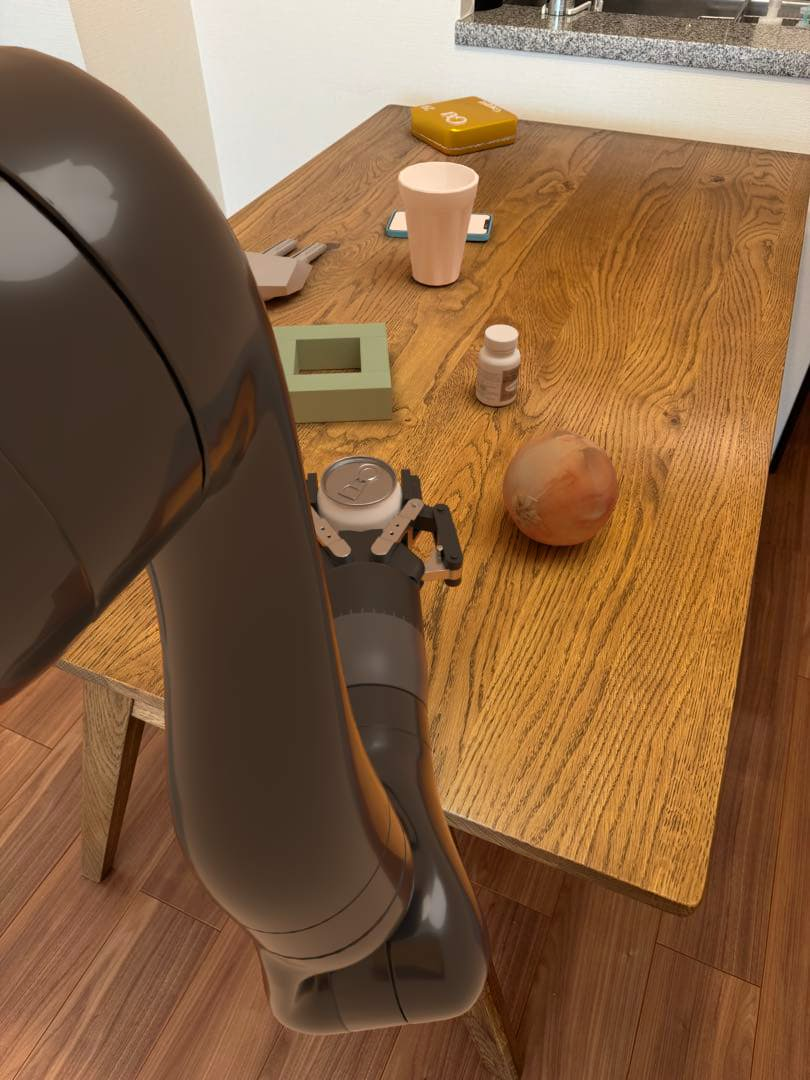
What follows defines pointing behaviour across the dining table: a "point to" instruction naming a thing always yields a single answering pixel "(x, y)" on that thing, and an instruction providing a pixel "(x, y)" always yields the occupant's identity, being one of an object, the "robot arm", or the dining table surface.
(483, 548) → the dining table surface
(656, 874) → the dining table surface
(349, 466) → the can
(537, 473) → the onion
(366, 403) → the holder
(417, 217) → the cup
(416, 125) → the element tile
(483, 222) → the smartphone
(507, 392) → the pill bottle
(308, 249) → the turret
